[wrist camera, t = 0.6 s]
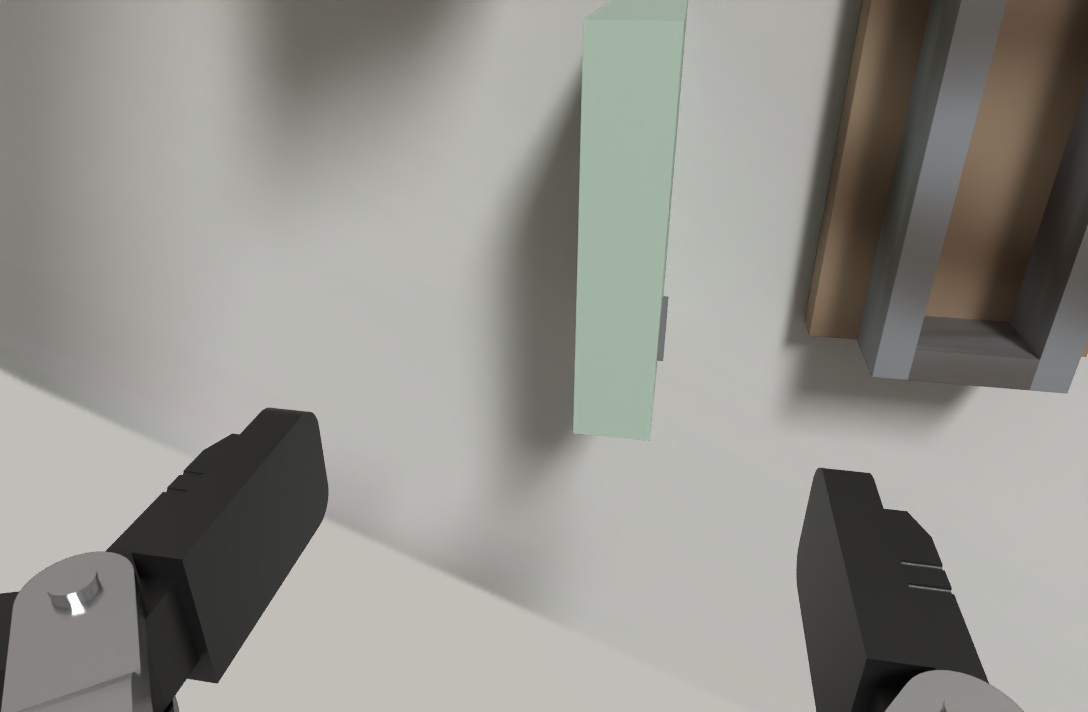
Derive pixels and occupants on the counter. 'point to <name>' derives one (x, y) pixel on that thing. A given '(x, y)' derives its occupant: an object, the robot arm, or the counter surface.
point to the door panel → (625, 210)
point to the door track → (961, 195)
